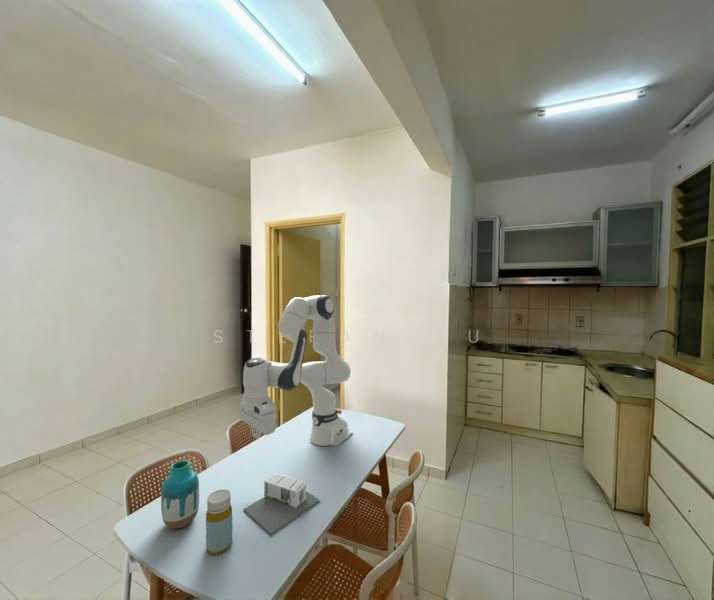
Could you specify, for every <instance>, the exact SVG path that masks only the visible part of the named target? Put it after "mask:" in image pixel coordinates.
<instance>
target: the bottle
mask: <svg viewBox="0 0 714 600" xmlns="http://www.w3.org/2000/svg"><path fill="white" fill-rule="evenodd" d="M231 500H232V499H231V492H230V490H228V489H223V488H221V489H218V490H215V491H213V492H211V493H210V494H209V495H208V496H207V500H206V503H207V505H206V506H207V507H206V509H207V510H206V513H205V538H206V539H205V541H206V542H205V544H206V545H205V547H206V551H207V552H208V553H209V554H210V555H212V556H213V555H220V554H223V553H224V552H226V551H227V550H228V549H229V548H230V547H231V546H232V544H233V506H232V504H231Z"/></svg>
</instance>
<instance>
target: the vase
mask: <svg viewBox="0 0 714 600" xmlns="http://www.w3.org/2000/svg"><path fill="white" fill-rule="evenodd" d="M169 471H170V472H169V475H168V476H167V477H166V478H165V479H164V481H163V482H162V485H161V495H160V503H161V504H160V505H161V509H160V510H161V516H162V517H161V518H162V521H163V524H164V526H166V527H167V528H169V529H172V530H174V529H175V530H177V529H181V528H184V527H186V526H187V525H189V524H190V523H191V522H193V521H194V519H195V518H196V516H197V514H198V512H199V507H200V482H199V476H198V473H197V472H196V471H195V470H192V469H191V464H190V461H189V460H186V459H182V460H179V461H175V462H174V463H172V464H171V466H170V470H169Z"/></svg>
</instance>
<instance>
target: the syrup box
mask: <svg viewBox="0 0 714 600" xmlns="http://www.w3.org/2000/svg"><path fill="white" fill-rule="evenodd" d="M263 482H264V483H263V484H264V485H263V487H264V490H263V491H264V492H263V495H264V496H263V497H267V498H270V499H273V500H276V501H279V502H281V503H284V504H287V505H290V506H293V507H295V508H298V507H299V506H300V505H301V504H302V503H303V502H304V500H305V499H306V491H307V483H306V482H305V481H301V480H298V479H296V478H295V479H294V478H291V477H289V476H285V475H283V474H279V473H275V472H274V473H273V474H271V475H270V476H268V477H267V478H266V479H265V480H264V481H263Z"/></svg>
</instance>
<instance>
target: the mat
mask: <svg viewBox="0 0 714 600" xmlns="http://www.w3.org/2000/svg"><path fill="white" fill-rule="evenodd" d="M320 502H321V501H320V499H319V498H317V497H316V496H314V495H312V494H311V493H310V492H309V491H307V490H306V499H305V500H304V502H303V503H302V504H301V505H300V506H299V507H298V508H295V507H293V506H290V505H287V504H284V503H281V502H279V501H276V500H273V499H270V498H267V497H265V496H263V497H262V498H259V500H257V501H255V502H253V503H251V504H250V505H248V506H246V507H244V508H243V512H245V513H246V514H247V515H248V516H249V517H250V518H251V519H252V520H253V521H255V523H256V524H257V525H258V526H260V527H261V528H262V529H263V530H264V531H265V532H266V533H267V535H269V536H273V535H274V534H275V533H276V532H279V530H281V529H283V528H285V526H287V525H289V524H290V523H292V521H294V520H296V519H297V518H299V517H300V516H301V515H303V514H304V513H306V512H307V511H309V510H310V509H312V508H313V507H314V506H316V505H317V504H319V503H320Z"/></svg>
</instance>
